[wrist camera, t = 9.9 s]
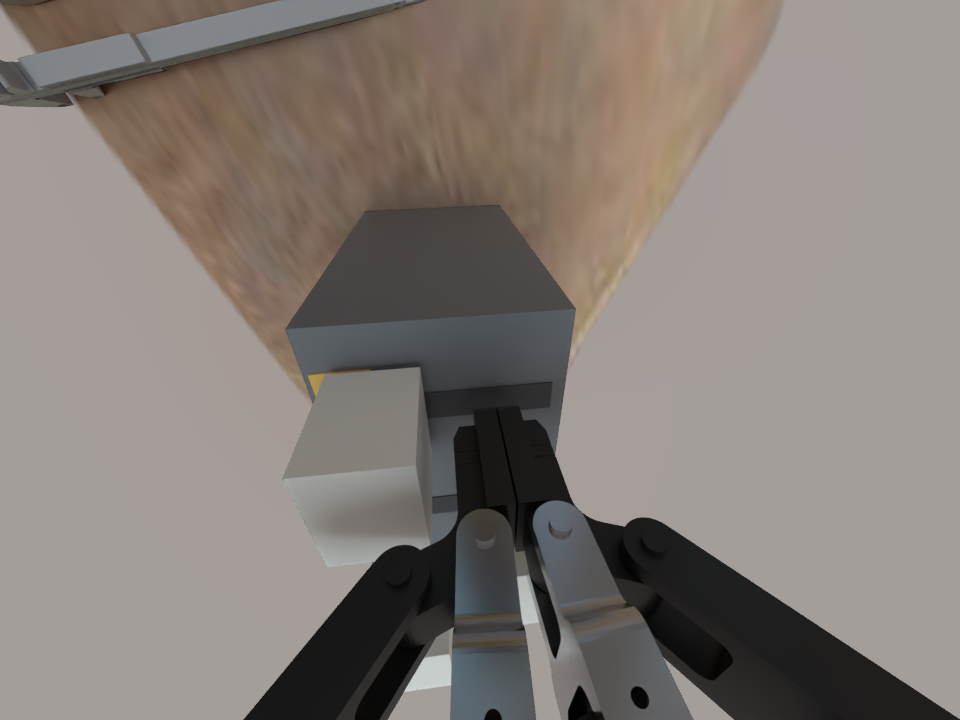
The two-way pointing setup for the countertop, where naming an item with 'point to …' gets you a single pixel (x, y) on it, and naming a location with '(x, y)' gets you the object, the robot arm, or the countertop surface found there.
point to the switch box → (442, 323)
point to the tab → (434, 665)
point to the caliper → (168, 48)
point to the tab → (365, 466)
